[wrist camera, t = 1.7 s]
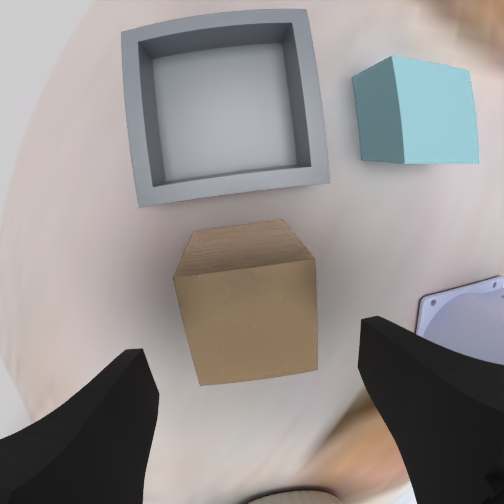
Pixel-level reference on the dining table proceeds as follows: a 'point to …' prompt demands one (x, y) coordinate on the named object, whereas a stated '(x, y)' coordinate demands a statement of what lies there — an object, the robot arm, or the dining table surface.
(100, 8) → the dining table surface
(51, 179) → the dining table surface
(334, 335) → the dining table surface
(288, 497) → the canister
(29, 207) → the dining table surface
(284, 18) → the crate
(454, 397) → the robot arm
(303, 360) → the wooden block
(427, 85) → the pale teal cube
